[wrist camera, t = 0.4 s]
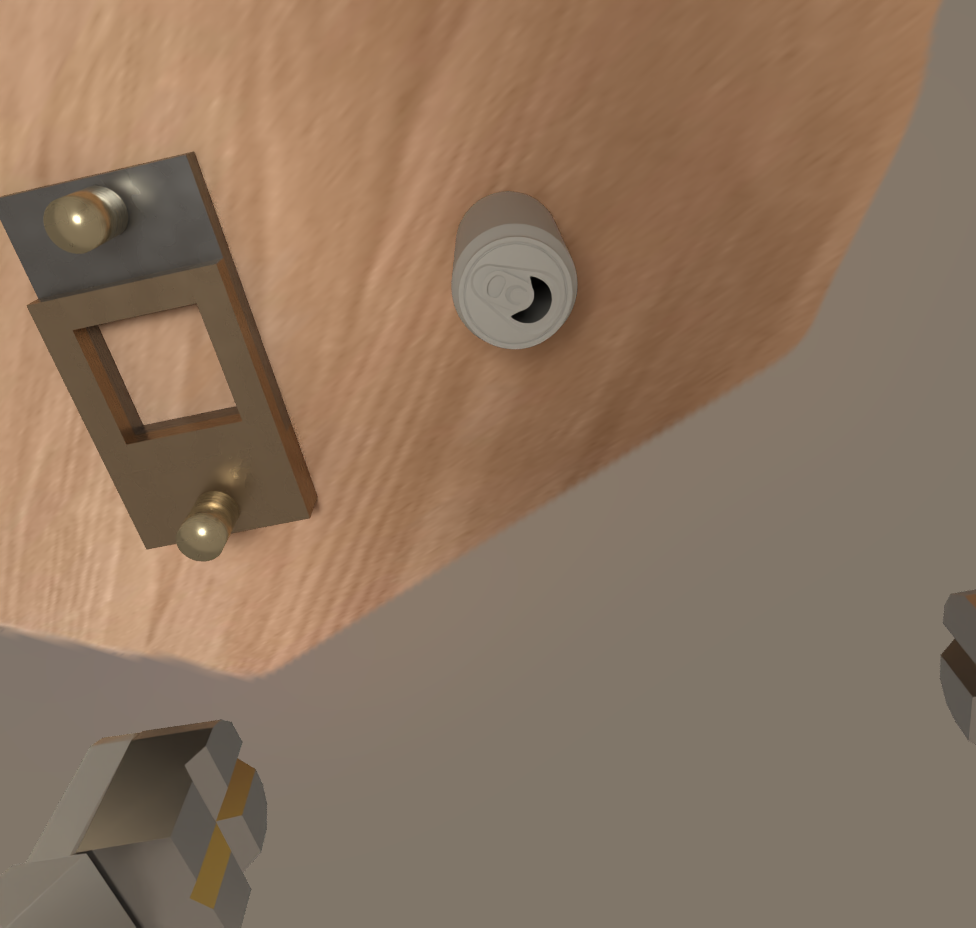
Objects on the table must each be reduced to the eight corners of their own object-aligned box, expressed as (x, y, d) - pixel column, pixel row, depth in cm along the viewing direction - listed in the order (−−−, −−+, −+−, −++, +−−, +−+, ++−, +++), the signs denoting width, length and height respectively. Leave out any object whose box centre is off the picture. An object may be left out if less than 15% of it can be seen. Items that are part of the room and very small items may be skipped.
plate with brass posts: (4, 195, 48) (-66, 218, 42) (193, 151, 47) (151, 167, 41) (161, 526, 59) (124, 583, 53) (317, 496, 58) (299, 550, 52)
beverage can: (530, 308, 52) (545, 376, 41) (439, 267, 50) (430, 327, 40) (575, 215, 49) (604, 263, 38) (480, 170, 48) (483, 206, 37)
